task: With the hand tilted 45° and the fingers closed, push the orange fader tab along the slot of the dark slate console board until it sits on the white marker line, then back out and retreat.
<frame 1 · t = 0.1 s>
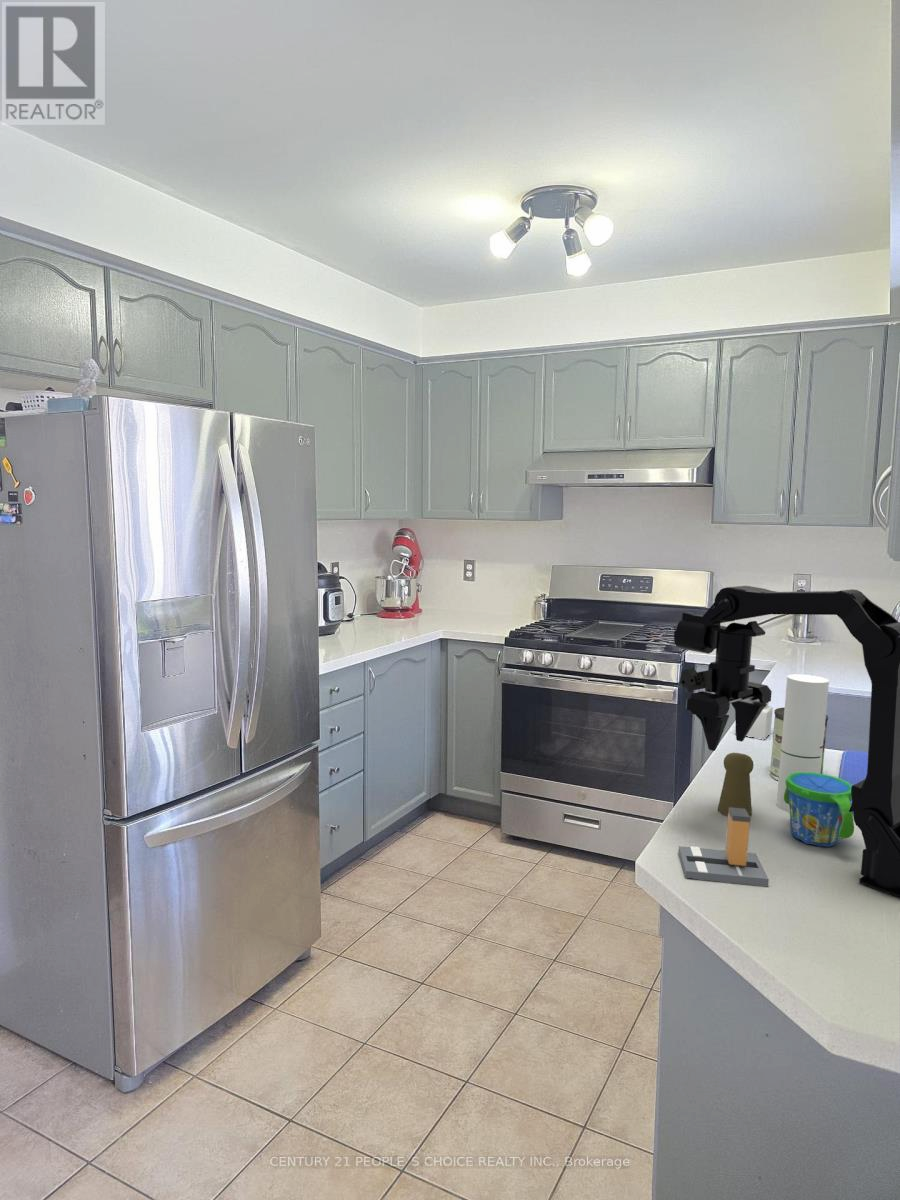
hand: (726, 745, 141), 15 cm above the worktop, tool pointing down, fingers open, 9 cm apart
cylindrical container: (796, 807, 153), on the worktop
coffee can: (795, 779, 169), on the worktop
fader tab: (736, 840, 125), point 5 cm above the worktop, slide at 0.0 cm
medicine bottle: (752, 735, 201), on the worktop
snack cup: (814, 840, 138), on the worktop
fader console: (721, 869, 126), on the worktop
cork: (734, 812, 149), on the worktop
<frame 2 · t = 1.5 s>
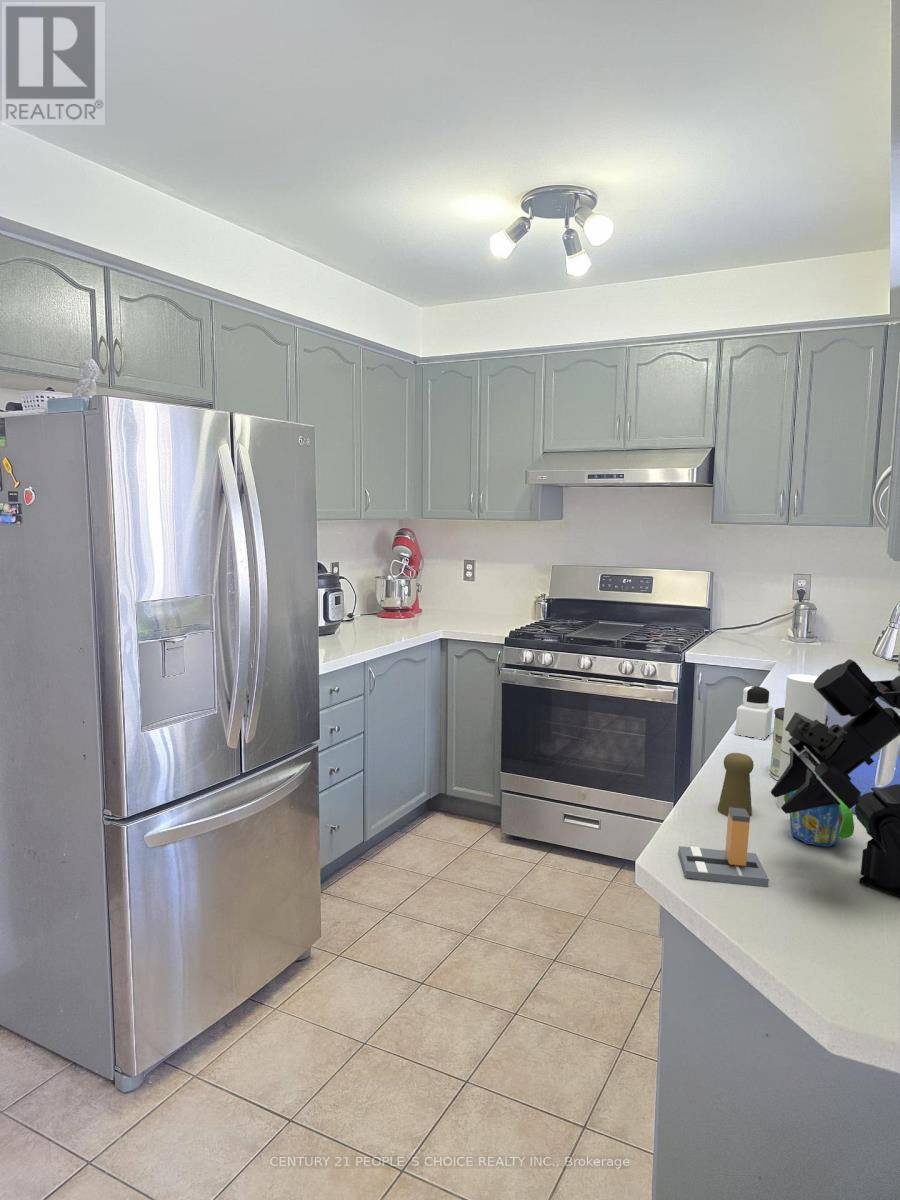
hand: (777, 802, 123), 12 cm above the worktop, tool tilted 45°, fingers open, 6 cm apart
nothing on the worktop moved.
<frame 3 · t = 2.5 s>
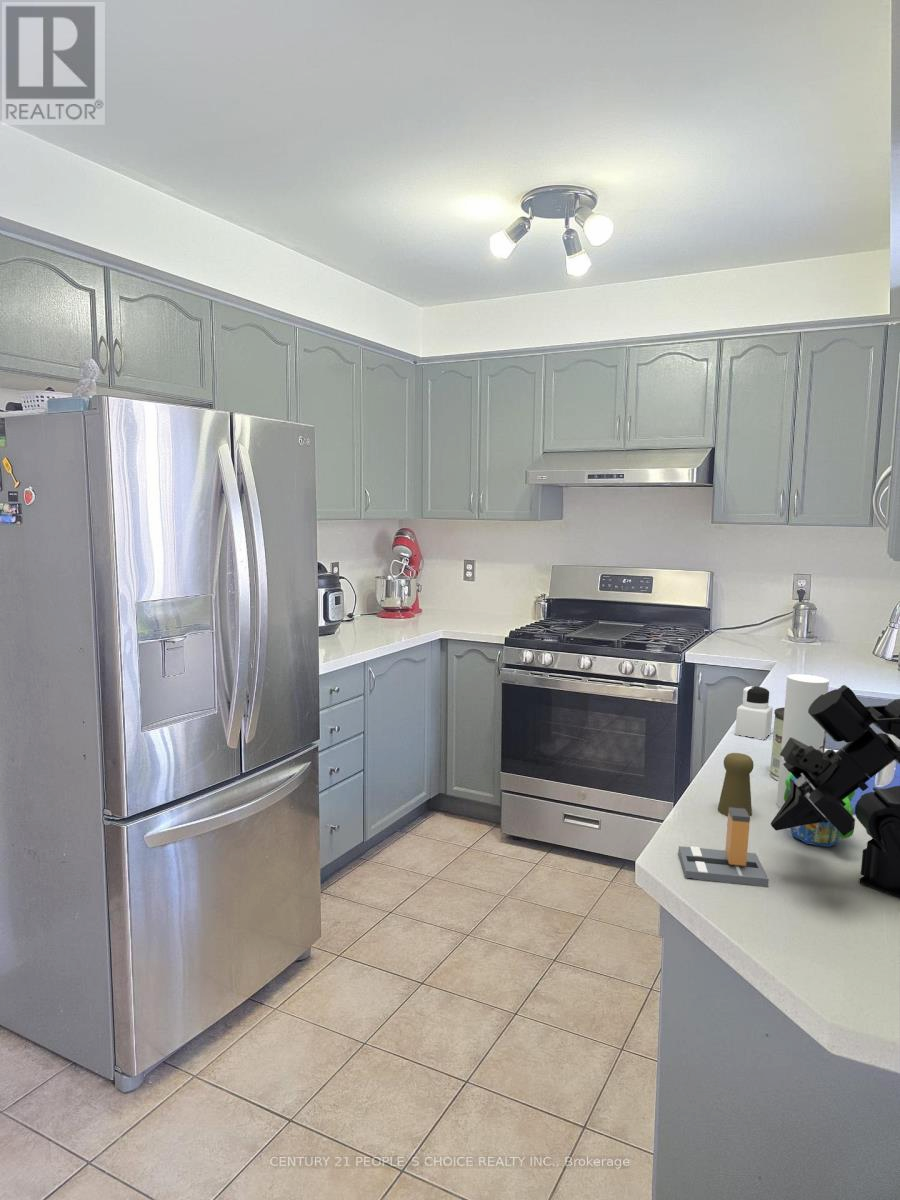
hand: (772, 827, 123), 8 cm above the worktop, tool tilted 45°, fingers closed
nothing on the worktop moved.
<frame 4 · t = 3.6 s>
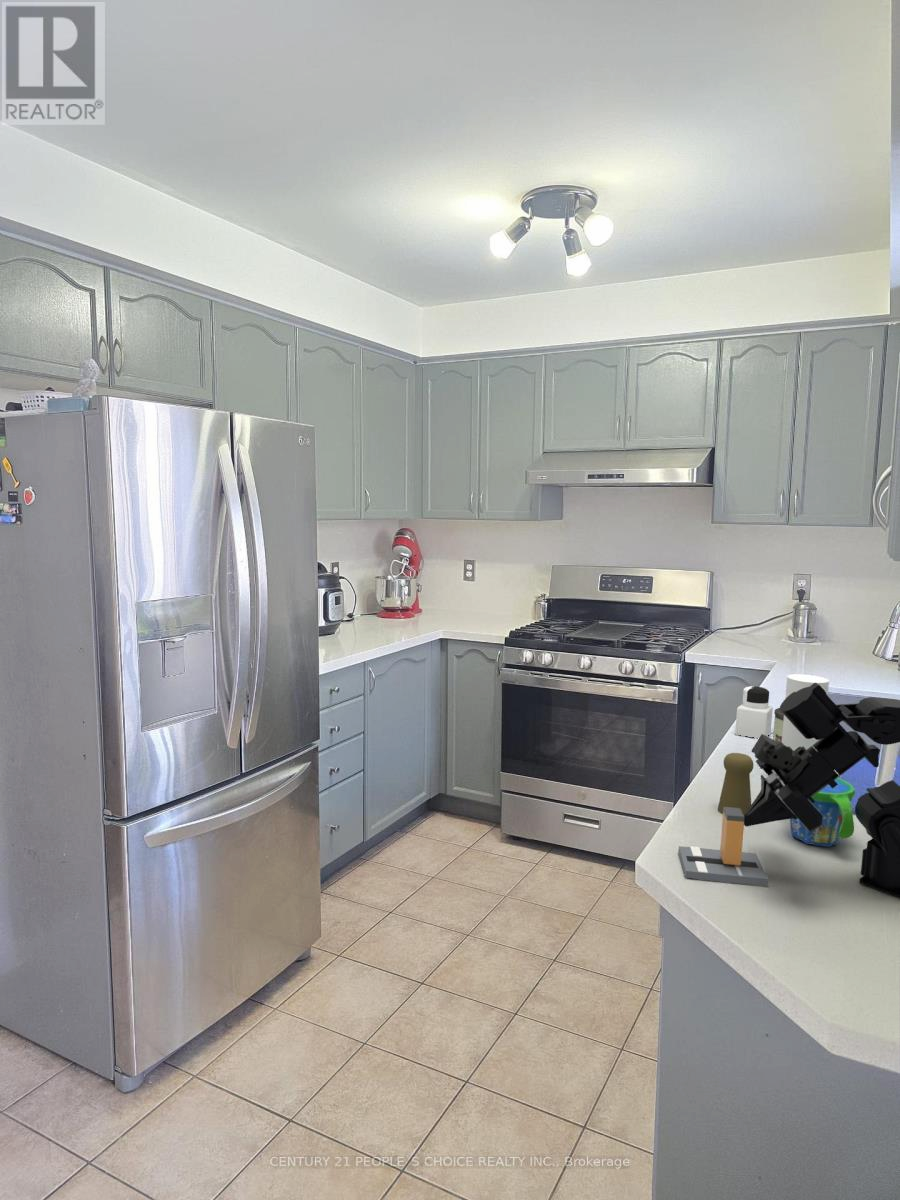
hand: (743, 823, 124), 8 cm above the worktop, tool tilted 45°, fingers closed, pressing on fader tab
fader tab: (731, 839, 125), point 5 cm above the worktop, slide at 0.8 cm, touching gripper
everything else where it was.
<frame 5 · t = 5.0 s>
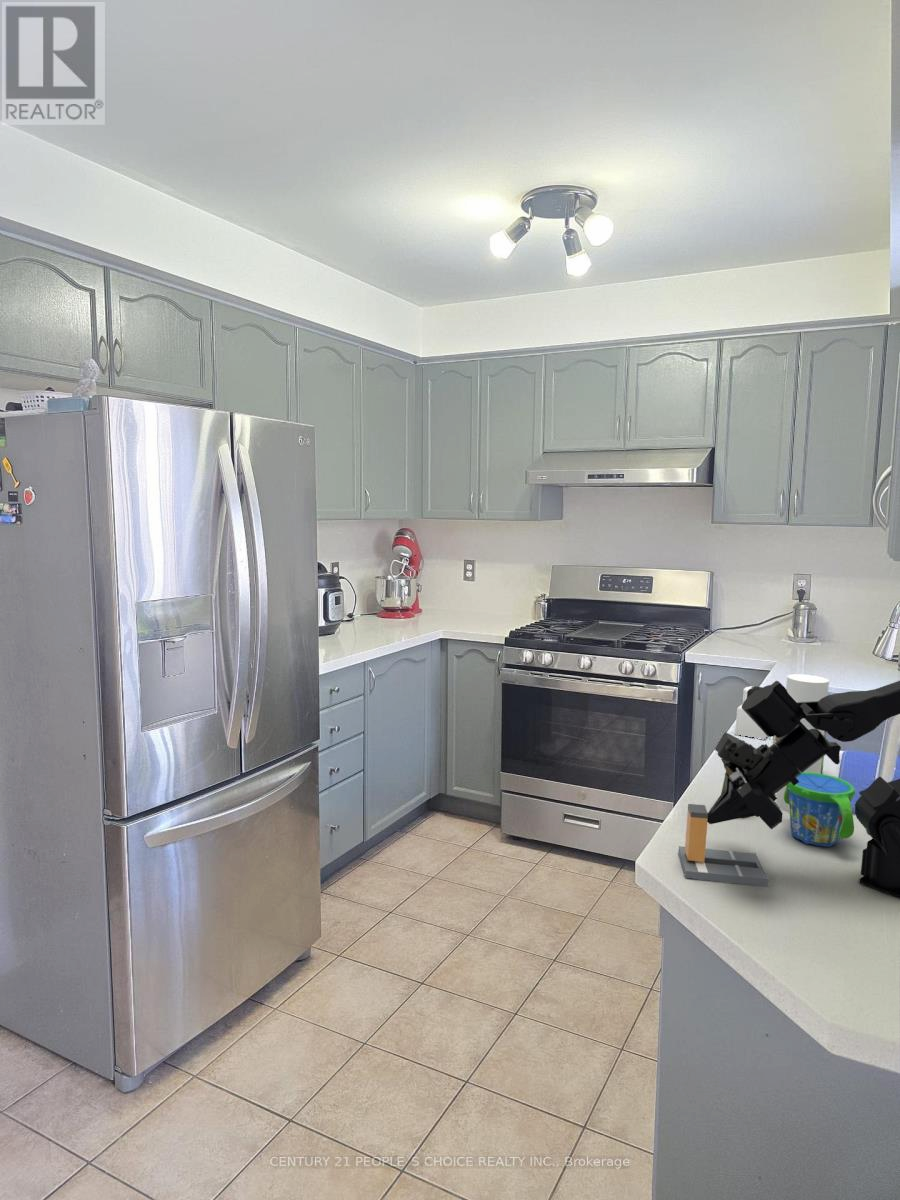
hand: (707, 821, 125), 8 cm above the worktop, tool tilted 45°, fingers closed, pressing on fader tab
fader tab: (695, 836, 126), point 5 cm above the worktop, slide at 6.2 cm, touching gripper
everything else where it was.
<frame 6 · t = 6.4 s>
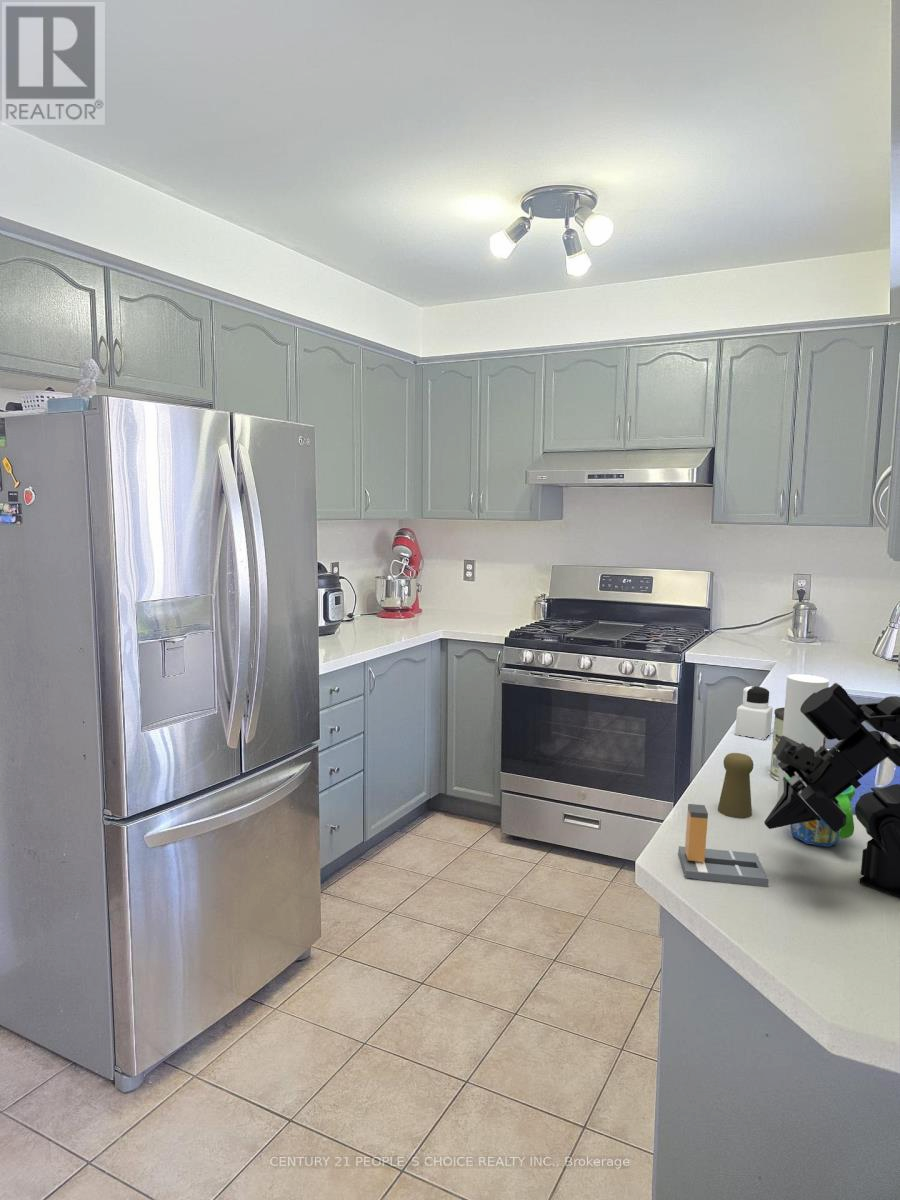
hand: (766, 825, 124), 8 cm above the worktop, tool tilted 45°, fingers closed
fader tab: (695, 836, 126), point 5 cm above the worktop, slide at 6.2 cm
everything else where it was.
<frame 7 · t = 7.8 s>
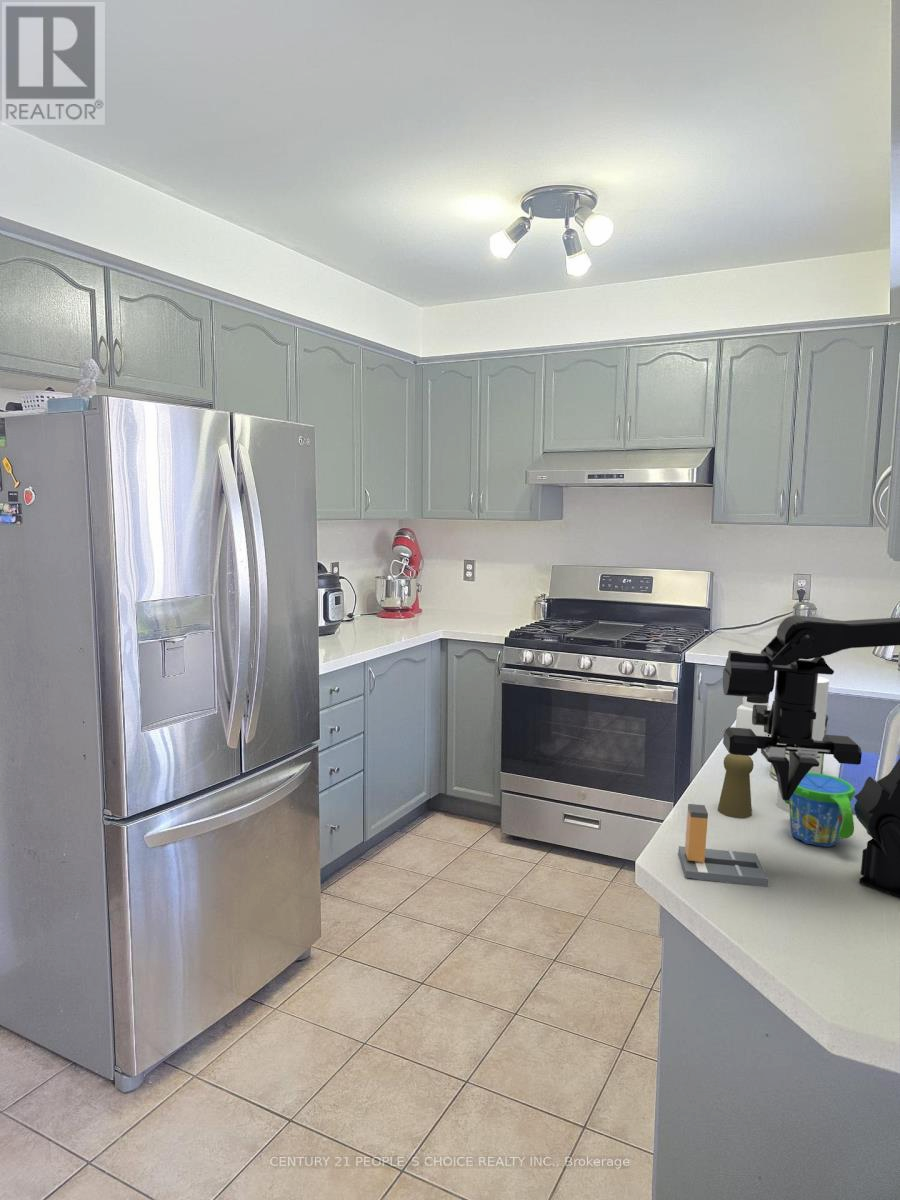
hand: (785, 799, 123), 12 cm above the worktop, tool pointing down, fingers closed
nothing on the worktop moved.
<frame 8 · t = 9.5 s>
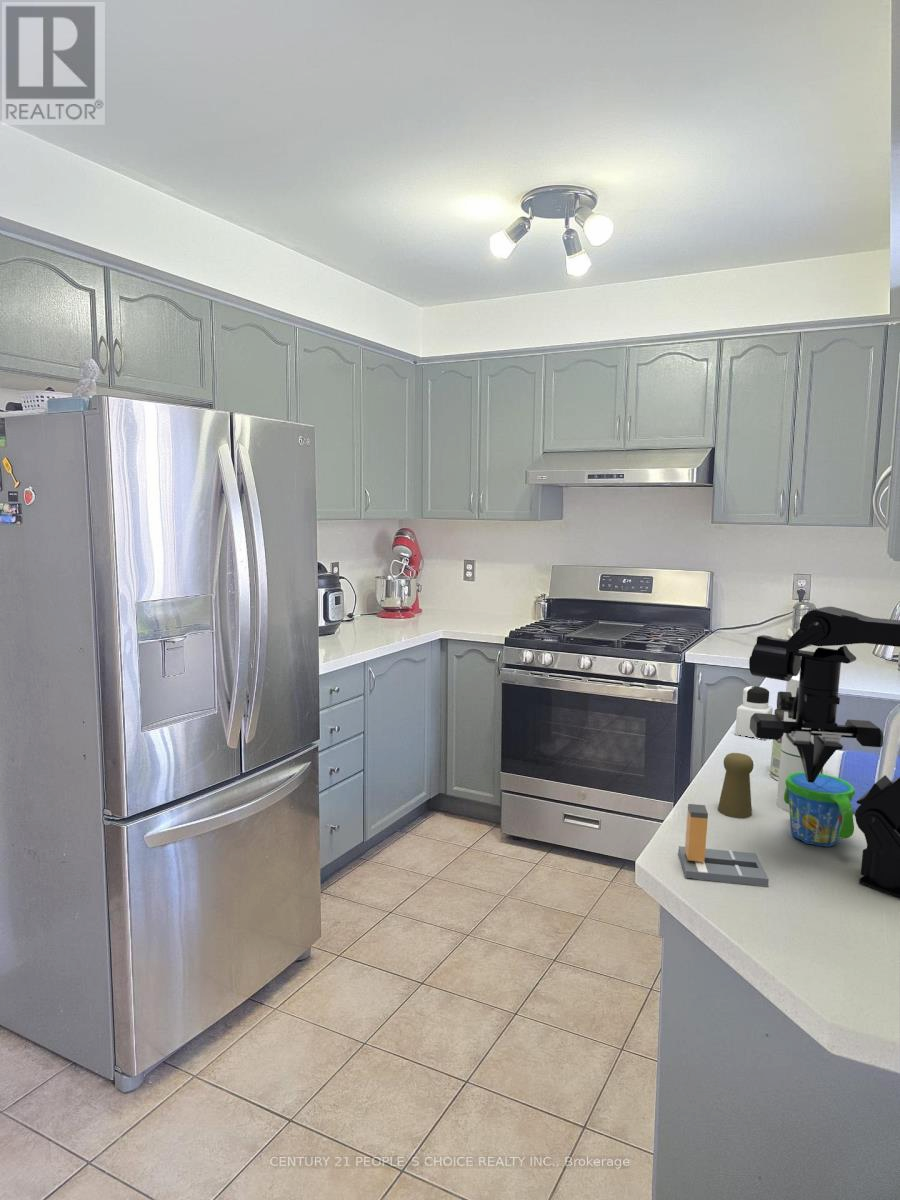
hand: (810, 781, 128), 13 cm above the worktop, tool pointing down, fingers closed
nothing on the worktop moved.
at the end: fader tab slide at 6.2 cm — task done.
